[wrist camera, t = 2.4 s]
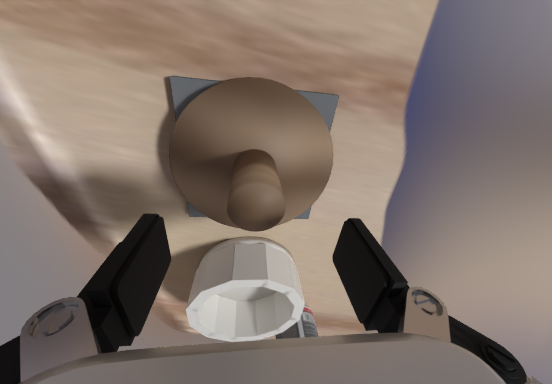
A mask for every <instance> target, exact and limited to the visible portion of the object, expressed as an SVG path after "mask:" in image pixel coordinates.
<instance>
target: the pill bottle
mask: <svg viewBox="0 0 552 384" xmlns="http://www.w3.org/2000/svg"><path fill="white" fill-rule="evenodd" d="M302 337H318V333H317V329H316V325H315V321H314V317H313V313H312V311H311V309H310V308H309V307H308V306H306V305H304V308H303V311H302V314H301V317H300V320H299V321H297V322H296V323H295V324H293V325H292V326H291V327H289V328H288V329H287V330H285V331H284V332H282V333H279V334H276V339H286V338H302Z"/></svg>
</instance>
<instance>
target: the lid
mask: <svg viewBox="0 0 552 384" xmlns="http://www.w3.org/2000/svg"><path fill="white" fill-rule="evenodd" d="M169 158H170V166H171V170H172V174H173V177H174V179H175V182H176V184H177V186H178V188H179V189H180V191H181V193H182V194H183V195H184V197H185V198H186V199H187V200H188V202H189V203H190V204H191V205H192V206H193V207H194V208H196V209H197V210H198V211H199V212H201V213H202V214H204V215H205V216H207V217H208V218H210V219H212V220H214V221H216V222H219V223H221V224H224V225H227V226H231V227H236V228H241V229H244V230H247V231H264V230H267V229H270V228H272V227H274V226H277V225H280V224H283V223H286V222H288V221H290V220H292V219H294V218H296V217H297V216H299V215H301V214H302V213H303V212H305V211H306V210H307V209H308V208H309V207H310V206H311V205H312V204H313V203H314V202H315V201H316V200H317V199H318V198H319V196H320V195H321V193H322V192H323V190H324V188H325V186H326V184H327V182H328V180H329V177H330V174H331V169H332V165H333V145H332V140H331V135H330V133H329V130H328V127H327V125H326V123H325V121H324V119H323V117H322V116H321V114H320V113H319V112H318V110H317V109H316V108H315V107H314V106H313V105H312V104H311V103H310V102H309V101H308V100H307V99H306V98H305V97H303V96H302V95H301V94H299V93H298V92H297V91H295V90H293V89H292V88H290V87H288V86H286V85H284V84H281V83H279V82H276V81H273V80H268V79H263V78H252V77H246V78H236V79H232V80H228V81H224V82H222V83H219V84H217V85H215V86H212V87H211V88H209V89H207V90H206V91H204V92H203V93H201V94H200V95H198V96H197V97H196V98H195V99H194V100H193V101H191V102H190V103H189V104H188V106H187V107H186V108H185V109H184V110H183V112H182V113H181V115H180V117H179V118H178V120H177V122H176V124H175V126H174V129H173V132H172V135H171V140H170V147H169Z"/></svg>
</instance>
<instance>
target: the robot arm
mask: <svg viewBox="0 0 552 384" xmlns="http://www.w3.org/2000/svg"><path fill="white" fill-rule="evenodd" d="M170 262H171V254H170V249H169V244H168V240H167V235H166V230H165V225H164V220H163V218H162V217H159V215H158V214H143V215H142V217H141V218H140V219H139V220H138V222H137V223H136V224H135V226H134V227H133V228H132V230H131V231H130V232H129V234H128V235H127V236H126V237H125V239H124V240H123V241H122V242H120V243H119V244H118V245H117V246H116V247H115V248H114V250H113V251H112V252H111V254H110V255H109V256H108V257H107V259H106V260H105V261H104V263H103V264H102V265H101V266H100V268H99V269H98V270H97V272H96V273H95V274H94V275H93V277H92V278H91V279H90V280H89V282H88V283H87V285H86V286H85V287H84V288H83V289H82V291H81V292H80V293H79V295H78V296H77V297H68V298H62V299H59V300H57V301H54V302H52V303H50V304H48V305H46V306H45V307H43V308H41V309H40V310H39V311H37V312H36V313H34V314H33V315H32V316H31V318H29V319H28V320H27V321H26V323H25V325H24V326H23V328H22V330H21V334H20V336H18V337H16V338H14V339H12V340H11V341H9V342H7V343H5V344H3V345H1V346H0V384H542V383H541V382H540V381H538V380H537V379H536V378H534V377H533V376H532V377H530V378H529V377H527V376H526V373H525V371H524V369H523V367H522V366H521V364H520V363H519V362H518V360H517V359H516V358H515V357H514V356H513V355H512V354H511V353H510V352H509V351H507V350H506V349H505V348H504V347H502V346H501V345H499V344H498V343H496V342H495V341H493V340H491V339H489V338H487V337H486V336H484V335H482V334H481V333H479V332H477V331H475V330H474V329H472V328H470V327H468V326H467V325H465V324H463V323H461V322H460V321H458V320H456V319H454V318H453V317H451V316H449V315H448V312H447V308H446V307H445V305H444V303H443V302H442V301H441V300H440V299H439V298H438V297H437V296H436V295H434V294H433V293H432V292H430V291H428V290H426V289H424V288H421V287H411V288H409V286H408V285H407V283H408V282H407V281H406V279H405V278H404V276H403V275H402V274H401V273H400V272H399V270H398V269H397V267H396V266H395V265H394V263H393V262H392V261H391V259H390V258H389V257H388V255H387V254H386V253H385V251H384V250H383V249H382V247H381V246H380V245H379V243H378V242H377V241H376V239H375V238H374V237H373V235H372V234H371V233H370V231H369V230H368V229H367V227H366V226H365V225H364V223H363V222H362V221H361V220H360V219H358V218H349V219H348V220H347V221H345V222H344V224H343V227H342V230H341V233H340V236H339V239H338V242H337V245H336V248H335V251H334V253H333V263H334V265H335V267H336V269H337V272H338V274H339V276H340V279H341V281H342V283H343V285H344V288H345V290H346V292H347V295H348V297H349V299H350V302H351V304H352V306H353V308H354V311H355V313H356V315H357V318H358V320H359V321H360V323H363V325H364V327H365V329H366V331H369V330H377V331H378V333H373V334H352V335H335V336H318V337H302V338H286V339H271V340H256V341H241V342H226V343H212V344H198V345H184V346H170V347H159V348H148V349H137V350H126V351H119V352H117V350H118V348H119V346H131V344H132V342H133V340H134V337H135V336H138V335H139V334H140V332H141V331H142V328H143V326H144V324H145V321H146V319H147V316H148V314H149V311H150V309H151V307H152V305H153V302H154V300H155V298H156V295H157V293H158V291H159V288H160V286H161V284H162V281H163V279H164V277H165V274H166V272H167V269H168V267H169V265H170Z"/></svg>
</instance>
